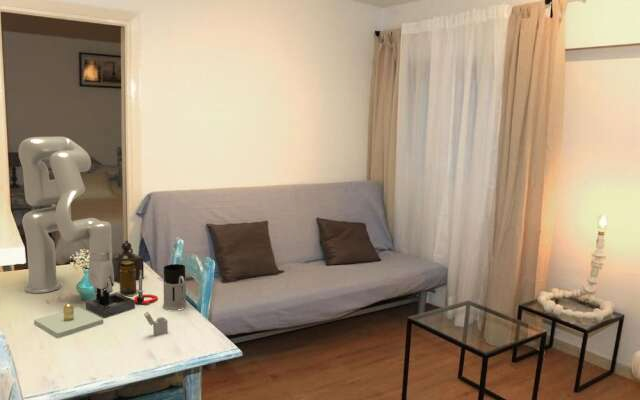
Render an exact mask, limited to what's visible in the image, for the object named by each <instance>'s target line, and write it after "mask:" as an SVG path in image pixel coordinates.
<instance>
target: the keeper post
mask: <svg viewBox="0 0 640 400" xmlns="http://www.w3.org/2000/svg"><path fill="white" fill-rule="evenodd" d="M73 309H74V306H73V304H72V303H70V302H69V303H66V304H64V305H63V307H62V310H63V311H62V312H63V314H64V321H72V320H74V311H73Z"/></svg>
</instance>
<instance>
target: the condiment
mask: <svg viewBox="0 0 640 400" xmlns="http://www.w3.org/2000/svg"><path fill="white" fill-rule="evenodd" d="M120 266H121V267H120V268H121V269H120V272H119V274H120V283H119V290H118V291H115V292H114V293H119V294H121V295H123V296H126V297H134V296H137V295H138V291H139V288H138V289H137V281H136V269H135V262H133V261H124V262H122V263H121V264H120ZM144 292H145V290H143V293H144Z"/></svg>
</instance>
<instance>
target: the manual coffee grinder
mask: <svg viewBox="0 0 640 400" xmlns="http://www.w3.org/2000/svg"><path fill="white" fill-rule="evenodd" d="M121 249H122V252H121V253H117V255H112V264H113V272H114V282H116V283H118V284H120V274H119V272H120V269H121V268H120V267H121V266H120V264H121V263H122V262H124V261H133V262H135V269H136V282H137V281H139V276H140V270H142V280H143V279H144V274H145V273H144V270H145V269H144V263H145V262H144V257H142V256H140V255H138V254H135V253H134V249H133V248H132V244H131V242H129V241H128V240H125V241H124V243H122V244H121Z"/></svg>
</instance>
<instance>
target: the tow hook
mask: <svg viewBox="0 0 640 400" xmlns="http://www.w3.org/2000/svg"><path fill="white" fill-rule="evenodd" d="M138 290H139V291H138V294H137V295H138V296H137V295H136V296H135V297H134V298H133V300H135V305H142V306H143V305H144V306H149V305H150V304H151V303H155V302H157V301H158V300H159V297H158V296H157V295H154V294H143V293H144V292H143V291H144V290H143V279H142V270H140V276H139V280H138ZM145 298H150V299H145Z"/></svg>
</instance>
